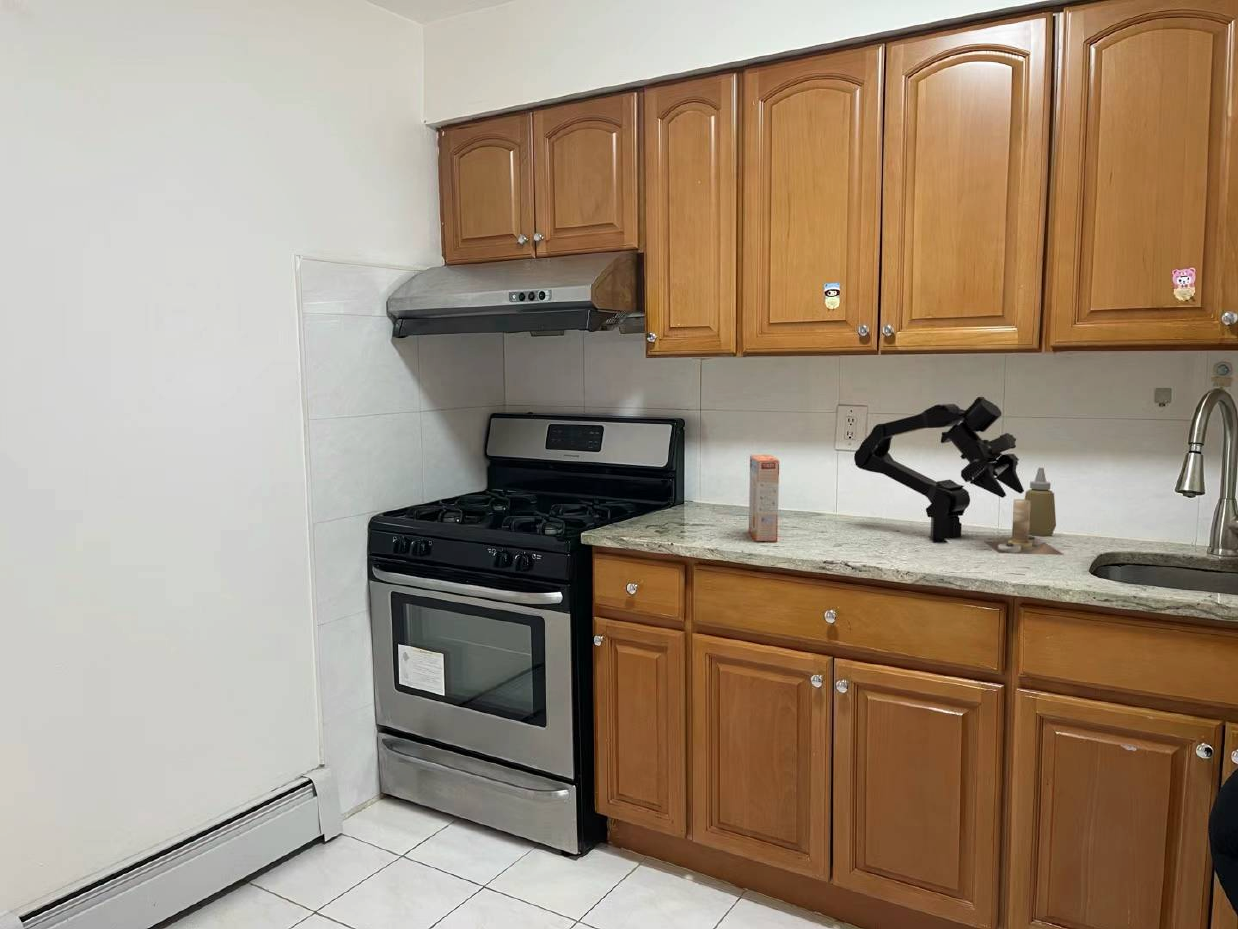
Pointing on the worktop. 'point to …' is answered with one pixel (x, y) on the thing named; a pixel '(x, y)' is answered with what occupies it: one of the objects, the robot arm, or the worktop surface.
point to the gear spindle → (1021, 524)
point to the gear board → (1016, 549)
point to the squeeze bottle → (1041, 506)
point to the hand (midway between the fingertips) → (1013, 494)
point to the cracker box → (763, 498)
